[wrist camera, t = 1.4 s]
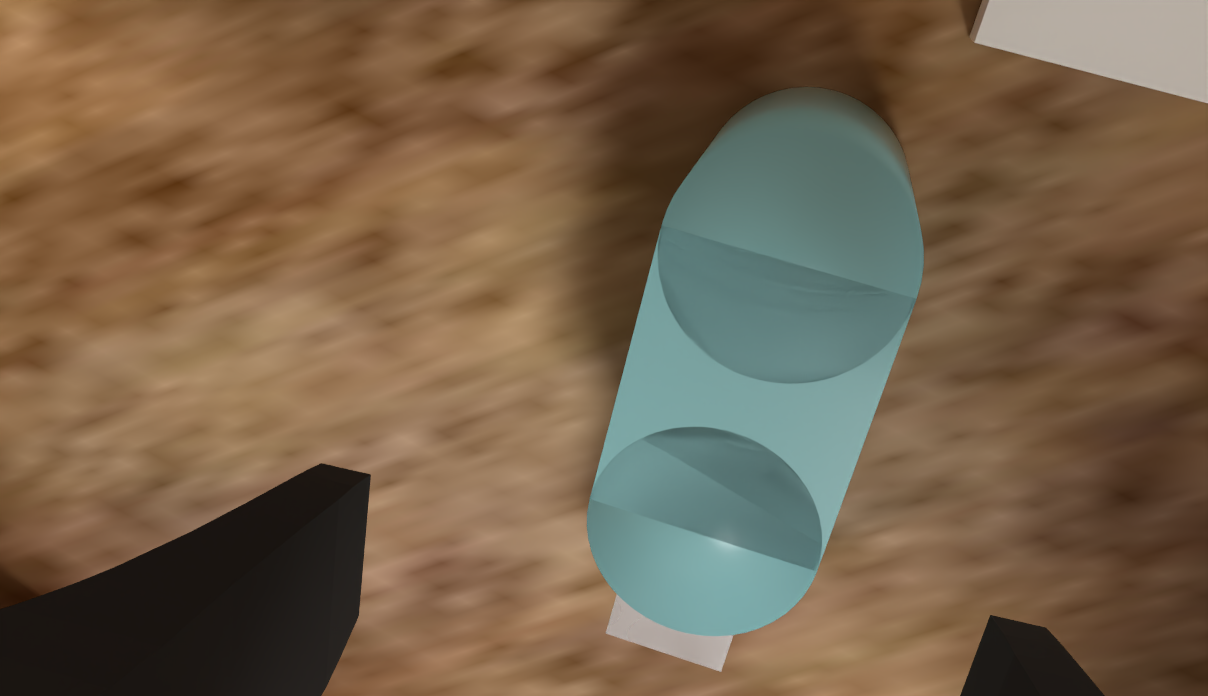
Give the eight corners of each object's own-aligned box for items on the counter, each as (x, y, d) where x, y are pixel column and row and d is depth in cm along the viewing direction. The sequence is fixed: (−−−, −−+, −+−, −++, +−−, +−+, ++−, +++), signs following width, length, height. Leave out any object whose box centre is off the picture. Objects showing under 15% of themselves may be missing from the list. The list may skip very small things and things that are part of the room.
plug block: (940, 119, 21) (962, 170, 16) (771, 601, 25) (751, 753, 20) (730, 62, 21) (695, 97, 16) (600, 546, 25) (542, 681, 21)
